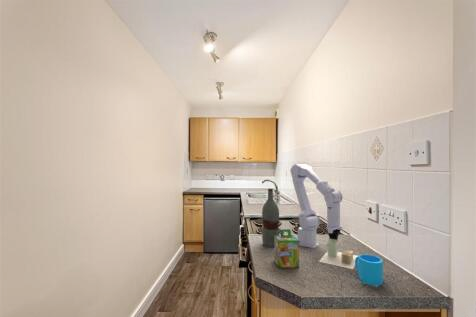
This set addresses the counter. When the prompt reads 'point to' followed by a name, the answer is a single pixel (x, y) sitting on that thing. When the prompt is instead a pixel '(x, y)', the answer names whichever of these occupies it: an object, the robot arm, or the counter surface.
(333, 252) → the sage block
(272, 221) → the bottle
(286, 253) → the chalk box
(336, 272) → the counter surface
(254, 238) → the counter surface
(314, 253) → the counter surface
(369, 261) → the mug
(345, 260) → the oak block
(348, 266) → the mat
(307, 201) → the robot arm
